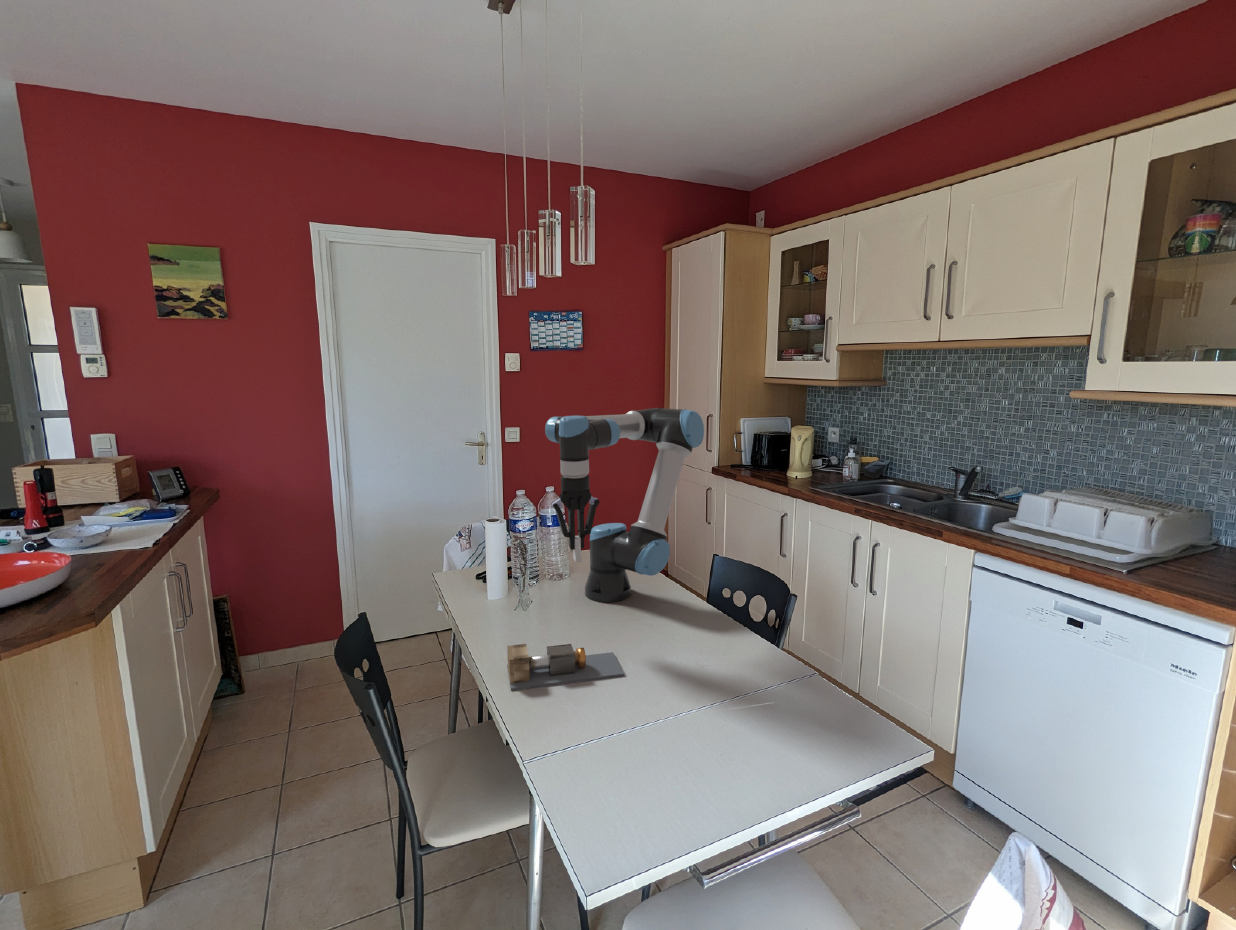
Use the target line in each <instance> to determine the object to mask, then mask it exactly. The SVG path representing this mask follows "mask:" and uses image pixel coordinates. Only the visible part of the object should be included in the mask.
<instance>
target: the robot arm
mask: <svg viewBox="0 0 1236 930" xmlns="http://www.w3.org/2000/svg"><path fill="white" fill-rule="evenodd" d="M544 430H545V431H544V433H545V436H546V438H547V439H548V440H549V441H550V442H553V443H557V444H559V457H560V458H559V462H560V470H559V471H560V475H561V476H560V494H559V496H558V497H559V498H558V499H556V500H555V501H551V506H552V507H553V508H554V510H555V513H556V517H557V521H558V524H559V526H560V527H559V528H560V530H561V534H562V536H563V537H564V538H568V545H569V548H570V551H572V557H573V561H574V562H575V563H581V562H582V551H581V550H582V549H584V548H585V538H586V536H589V566H590V567H589V573H588V576H587V579H586V583H585V585H584V595H585V597H587V599H590V600H592V601H595V602H602V603H613V602H620V601H623V600H624V601H625V600H626V599H628V598H629V597H630V596H631V593H632V586H631V583H630V580H629V577H628V574H627V571H630V572H634V573H637V574H638V575H641V576H642V575H644V576H645V575H646V576H655V575H657V574H659V573H660V572H661V571H663V569H664V568H665V567H666V566H667V563H668V561H669V560H670V554H671V550H670V549H671V547H670V543H669V542H668V541H667V537H668V534H667V533H666V531H665V527H666V524H667V520H668V516H669V513H670V510H671V506H672V502H673V500H674V496H675V494H676V493H675V492H676V489H677V486H678V483H679V478H680V476H681V472H682V469H683V467H684V466H683V465H684V463H685V459H686V458H688V457H689V456H691V455H692V451H693V449H694V448H698V447H699V446H701V445H702V443H703V440H704V438H705V437H704V436H705V427H704V421H703V418H702V416H701V415H700V414H699V413H698V412H697V411H695V410H691V409H686V408H683V409H680V408H666V407H665V408H663V407H655V408H654V407H653V408H645V409H640V410H630V411H628V412H626V413H625V414H623V413H622V414H605V415H587V416H586V415H565V416H561V415H559V416H552V417H550V418H549V419H548V420H547V421H546V423H545V427H544ZM620 439H628V440H632V441H637V440H639V441H645V442H650V443H655V446H656V447H657V450H658V452H657V455H656V459H655V462H654V466H653V470H652V473H651V476H650V480H649V483H648V486H647V489H646V492H645V495H644V500H643V501H642V504H641V505H642V506H641V510H640V512H639V515H638V519H637V521H636V522H634V523H631V525H630V529H629V531H627V529H628V528H627V525H626V524H625V523H621V522H609V523H608V522H607V523H602V524H598V525H595V526H593V525H594V519H595V515H596V511H597V507H598V506H599V505H600V500H599V499H598V498H597V497H594V496H592V493H591V491H590V475H589V473H590V458H589V455H590V454H589V451H590V450H596V449H602V448H608V447H610V446H611V447H612V446H614V445H615V444H617V443H618V441H619V440H620ZM588 503H589V506H588V512H587V515H586V519H585V507H586V506H587V504H588ZM562 504H563V505H564V506H565V508H566V510H567V521H568V522H567V523H568V525H567V524H566V521H565V518H564V514H563V511H562V509H561V508H562V507H563V506H562ZM576 511H577V512H576ZM576 513H577V535H576V524H575V523H576V519H575V514H576ZM567 526H568V527H567ZM626 570H627V571H626Z"/></svg>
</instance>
